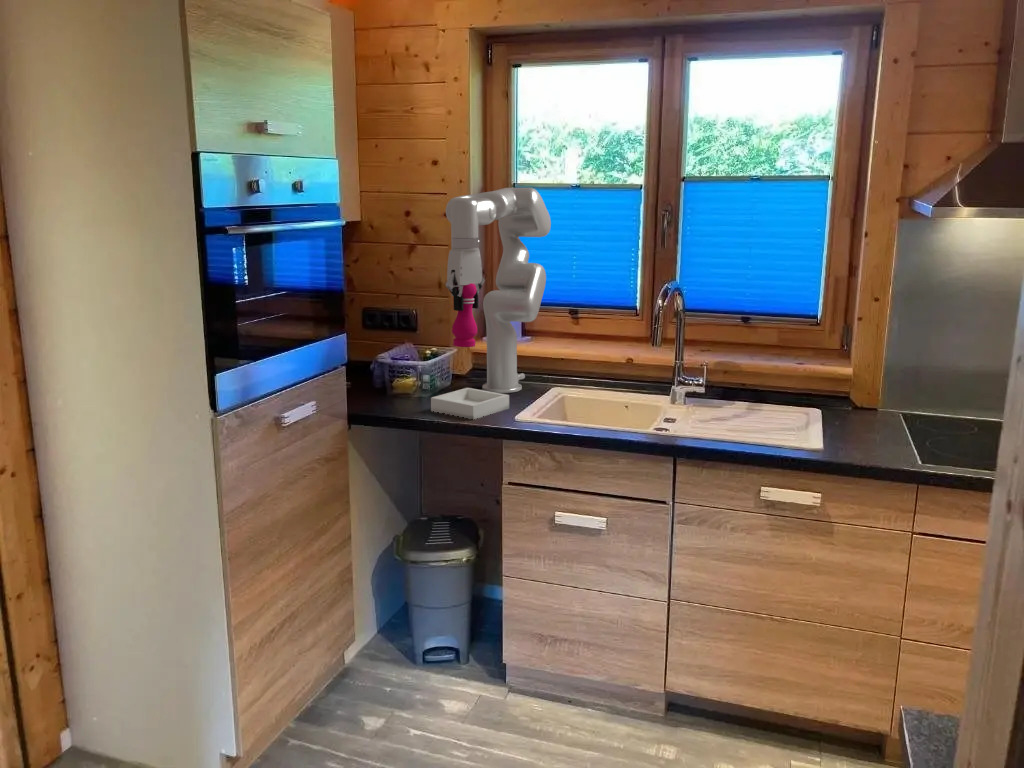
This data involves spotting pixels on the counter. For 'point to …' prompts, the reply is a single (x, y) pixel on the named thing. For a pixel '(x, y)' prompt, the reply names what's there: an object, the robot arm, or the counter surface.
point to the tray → (470, 403)
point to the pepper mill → (465, 320)
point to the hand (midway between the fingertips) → (466, 308)
